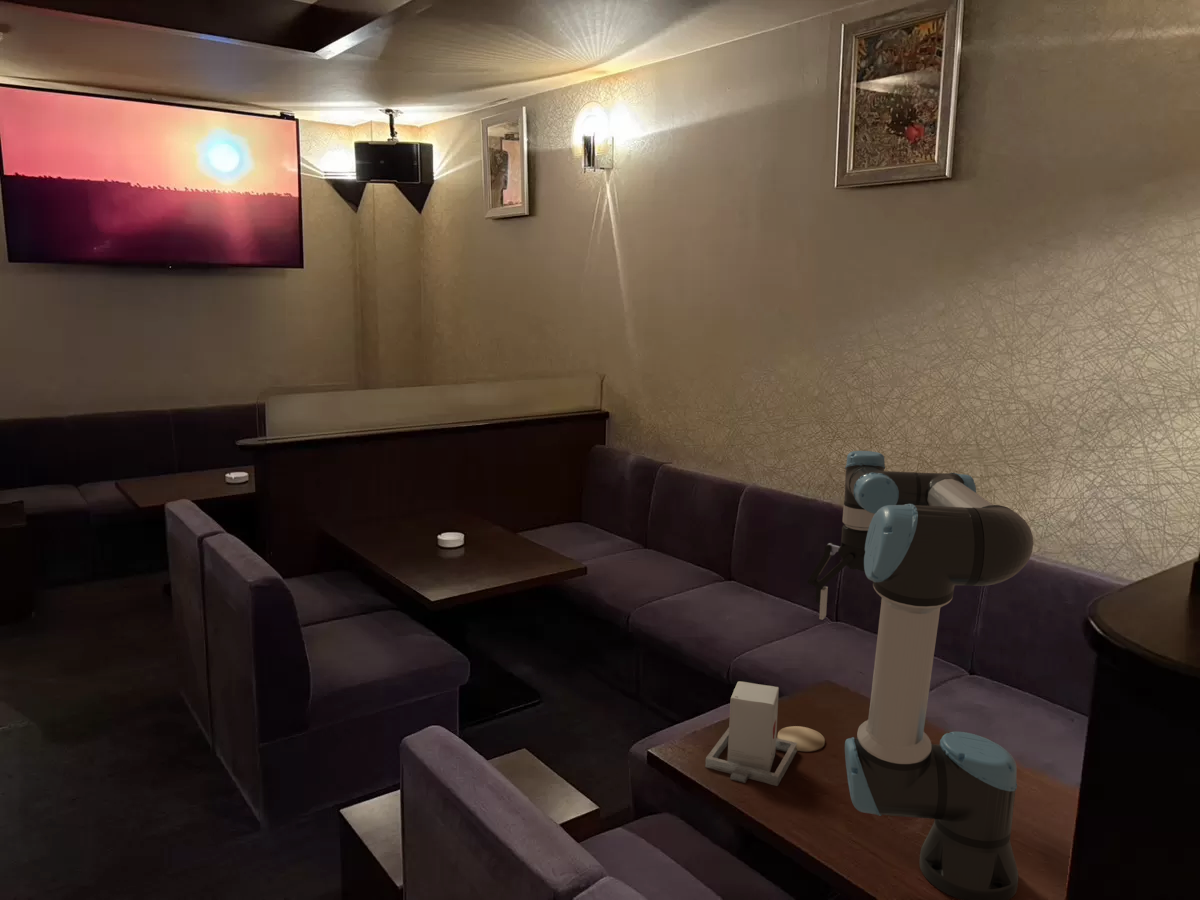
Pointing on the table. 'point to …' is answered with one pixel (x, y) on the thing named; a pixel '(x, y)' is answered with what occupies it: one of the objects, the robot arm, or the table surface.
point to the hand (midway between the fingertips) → (854, 623)
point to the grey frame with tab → (746, 772)
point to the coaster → (802, 738)
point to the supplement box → (753, 725)
